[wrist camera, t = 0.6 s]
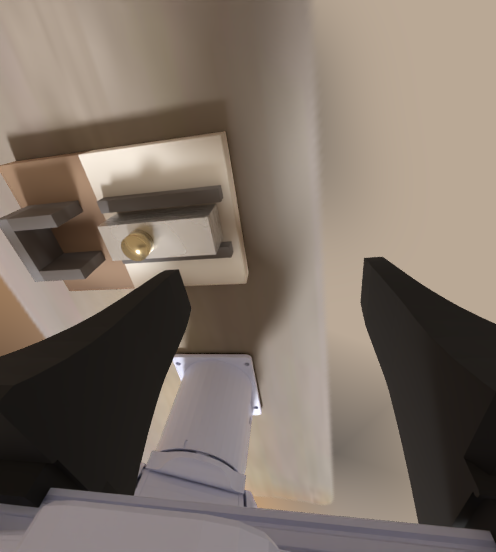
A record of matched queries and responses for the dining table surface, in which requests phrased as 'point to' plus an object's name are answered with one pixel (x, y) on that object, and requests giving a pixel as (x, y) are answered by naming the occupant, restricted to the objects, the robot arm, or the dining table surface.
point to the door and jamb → (121, 211)
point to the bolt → (163, 233)
